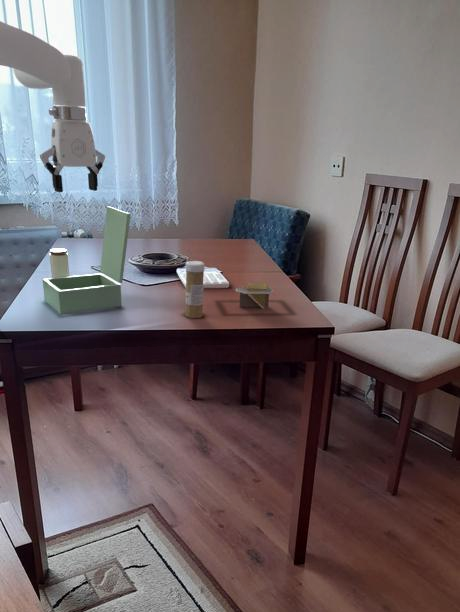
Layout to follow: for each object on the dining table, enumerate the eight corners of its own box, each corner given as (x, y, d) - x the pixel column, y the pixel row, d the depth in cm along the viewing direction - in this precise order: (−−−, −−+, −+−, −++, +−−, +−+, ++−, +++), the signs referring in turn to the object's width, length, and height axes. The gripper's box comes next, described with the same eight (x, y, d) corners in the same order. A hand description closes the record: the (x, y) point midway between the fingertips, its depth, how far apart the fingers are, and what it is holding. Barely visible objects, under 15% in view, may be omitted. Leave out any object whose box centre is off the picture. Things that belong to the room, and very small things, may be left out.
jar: (56, 293, 152) (52, 252, 147) (50, 288, 156) (46, 249, 151) (73, 291, 155) (69, 251, 149) (67, 287, 158) (64, 247, 153)
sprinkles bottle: (184, 313, 141) (184, 260, 135) (202, 313, 142) (203, 260, 136) (186, 319, 137) (186, 264, 131) (204, 318, 138) (205, 264, 132)
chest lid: (127, 213, 132) (130, 213, 133) (106, 206, 142) (110, 206, 142) (119, 282, 138) (122, 283, 139) (100, 271, 148) (103, 271, 148)
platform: (292, 314, 144) (295, 290, 141) (225, 315, 141) (226, 290, 138) (280, 301, 155) (283, 278, 152) (217, 302, 152) (218, 278, 149)
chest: (60, 317, 134) (58, 291, 131) (45, 303, 143) (42, 278, 140) (121, 309, 142) (120, 284, 139) (103, 296, 151) (101, 273, 148)
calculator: (185, 289, 162) (185, 282, 161) (175, 272, 179) (175, 266, 178) (230, 288, 165) (230, 282, 164) (216, 272, 182) (216, 266, 181)
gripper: (43, 114, 126) (51, 194, 134) (109, 117, 137) (113, 191, 145) (29, 113, 131) (37, 190, 139) (94, 116, 142) (98, 188, 150)
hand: (76, 190), depth 142 cm, fingers open, 9 cm apart
